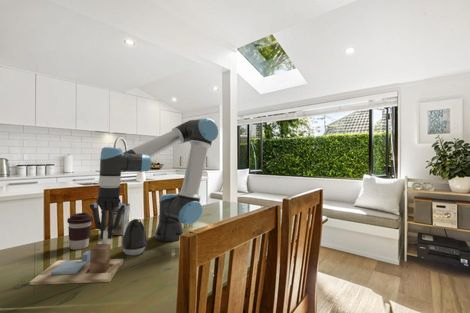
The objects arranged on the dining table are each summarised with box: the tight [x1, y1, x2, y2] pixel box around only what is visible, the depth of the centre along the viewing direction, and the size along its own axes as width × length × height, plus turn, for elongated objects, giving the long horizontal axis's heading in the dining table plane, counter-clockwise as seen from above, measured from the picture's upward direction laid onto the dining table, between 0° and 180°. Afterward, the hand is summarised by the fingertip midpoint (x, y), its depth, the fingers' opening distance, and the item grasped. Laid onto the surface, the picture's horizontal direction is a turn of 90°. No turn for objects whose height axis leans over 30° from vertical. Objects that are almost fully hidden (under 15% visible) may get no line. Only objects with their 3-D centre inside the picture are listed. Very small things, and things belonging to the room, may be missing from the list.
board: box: [29, 258, 125, 286], centre depth 88 cm, size 24×16×2 cm, turn 100°
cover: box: [51, 250, 91, 275], centre depth 89 cm, size 8×12×3 cm, turn 10°
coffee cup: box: [67, 212, 94, 251], centre depth 112 cm, size 10×10×15 cm
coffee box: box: [107, 202, 131, 236], centre depth 133 cm, size 9×6×16 cm
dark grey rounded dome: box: [121, 218, 148, 256], centre depth 107 cm, size 10×10×15 cm
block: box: [90, 243, 111, 273], centre depth 89 cm, size 5×5×9 cm
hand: (105, 246), depth 95 cm, fingers closed
